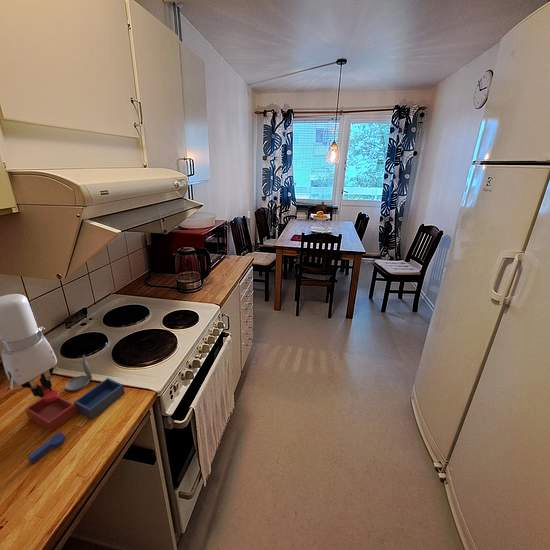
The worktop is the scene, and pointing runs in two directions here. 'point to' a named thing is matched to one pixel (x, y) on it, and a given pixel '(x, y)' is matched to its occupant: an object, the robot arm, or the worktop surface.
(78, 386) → the grey ladle
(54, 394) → the red spoon
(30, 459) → the blue spoon
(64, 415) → the red bin
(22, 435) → the worktop surface
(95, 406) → the blue bin
